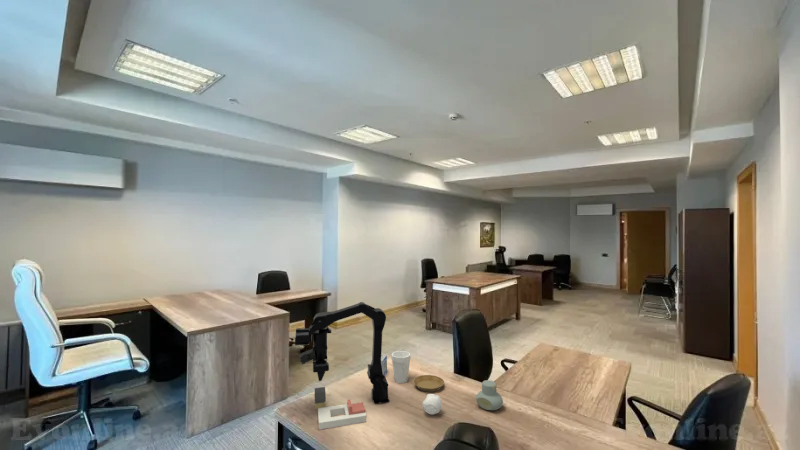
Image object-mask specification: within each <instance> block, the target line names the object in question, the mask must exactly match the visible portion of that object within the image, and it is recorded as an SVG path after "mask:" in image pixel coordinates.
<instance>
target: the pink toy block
mask: <svg viewBox="0 0 800 450" xmlns="http://www.w3.org/2000/svg"><path fill="white" fill-rule="evenodd" d="M359 402H360V403H358V402H352V401H351V399H350V398H349V399H347V400H346V404H347V407H348V412H349V414H356V413H362V412H365V413H366V408H365V405H364V401H359ZM351 403H353V404H351Z"/></svg>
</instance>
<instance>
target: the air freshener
mask: <svg viewBox="0 0 800 450" xmlns="http://www.w3.org/2000/svg"><path fill="white" fill-rule="evenodd" d="M475 400H476V403H477V405H478V406H479V407H480V408H482V409H484V410H485V411H496V410H498V409H500V408H501V407H502V406H503V403H504V398H503V397H502V395H501V394H500V393H499V392H498V391H497V383H496V382H495V381H492V380H489V379H488V380H487V379H486V380H483V381H482V382H481V391H479V392H477V394H476V396H475Z"/></svg>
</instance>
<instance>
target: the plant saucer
mask: <svg viewBox="0 0 800 450" xmlns="http://www.w3.org/2000/svg"><path fill="white" fill-rule="evenodd" d="M412 382H413V384H414V386H416V388H418V389H419V390H421V391H423V392H428V393H429V392H437V391H439V390H440V389H441V388H442V387H443V386H444V384H445V380H444V379H443V378H442V377H440V376H437V375H433V374H432V375H431V374H424V375H419V376H416V377H415V378H414V379H413V381H412Z"/></svg>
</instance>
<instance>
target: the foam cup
mask: <svg viewBox="0 0 800 450" xmlns="http://www.w3.org/2000/svg"><path fill="white" fill-rule="evenodd" d="M390 356H391V362H392V370H393V377H394V382H395V383H397V384H405V383H407V382H408V379H409V371H410V361H411V353H410V352H409V351H406V350H397V351H393V352H392V353H391V355H390Z"/></svg>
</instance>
